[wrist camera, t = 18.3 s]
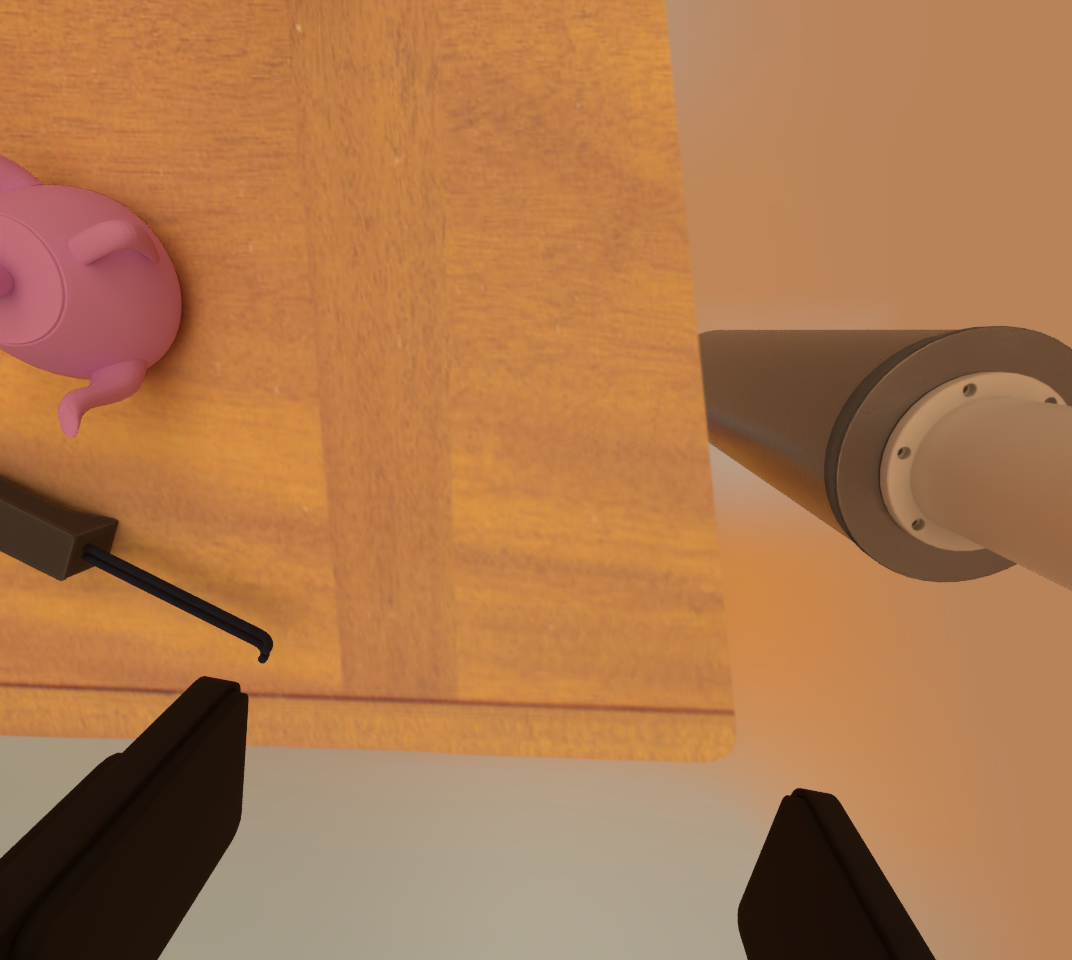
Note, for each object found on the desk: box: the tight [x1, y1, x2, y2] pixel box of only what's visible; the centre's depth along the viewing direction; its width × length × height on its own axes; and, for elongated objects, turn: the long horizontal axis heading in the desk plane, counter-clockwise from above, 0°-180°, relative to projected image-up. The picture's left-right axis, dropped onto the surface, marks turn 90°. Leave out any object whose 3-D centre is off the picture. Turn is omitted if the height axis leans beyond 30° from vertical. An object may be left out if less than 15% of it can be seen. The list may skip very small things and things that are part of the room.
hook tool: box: [0, 477, 273, 663], centre depth 39 cm, size 4×4×30 cm
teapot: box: [0, 155, 182, 438], centre depth 31 cm, size 12×14×9 cm
